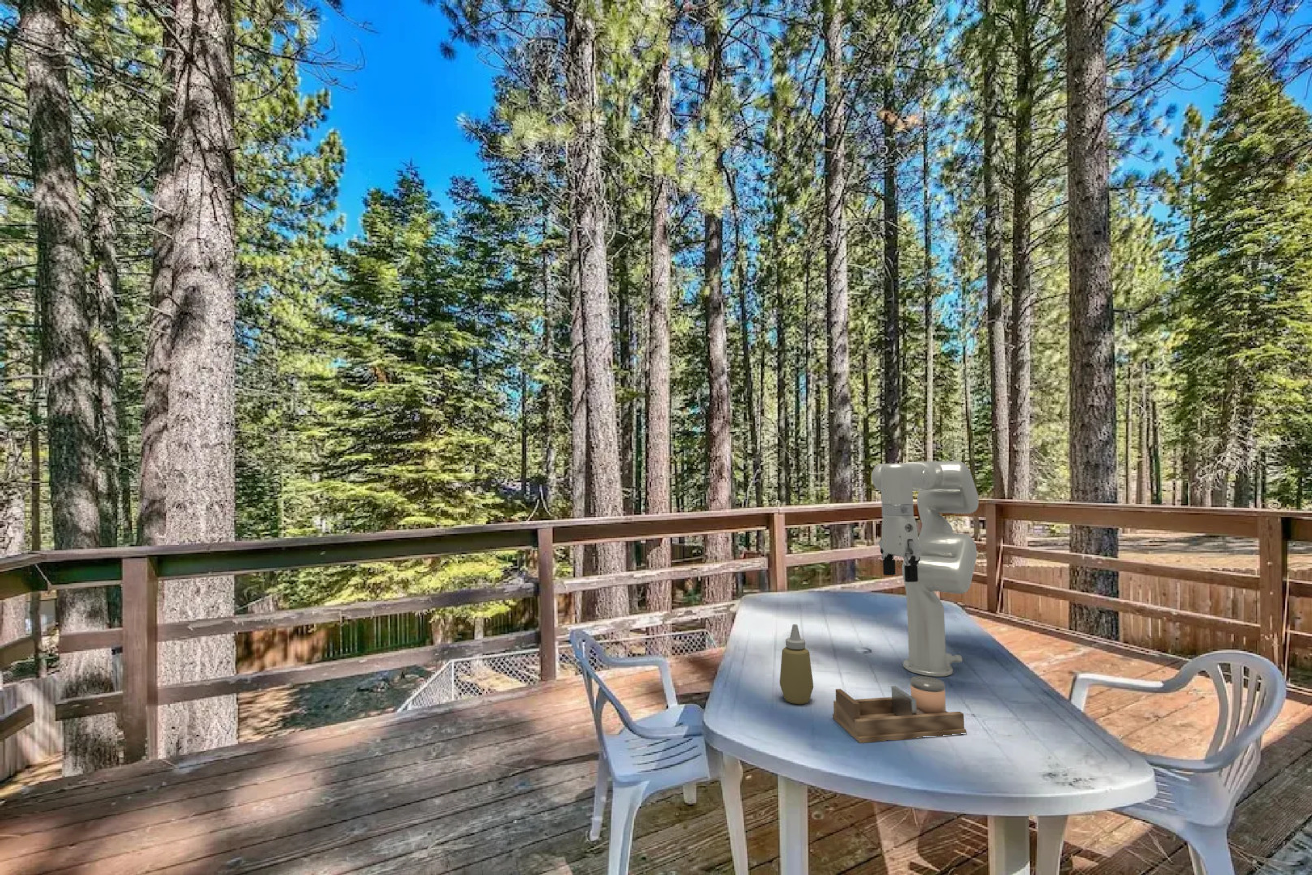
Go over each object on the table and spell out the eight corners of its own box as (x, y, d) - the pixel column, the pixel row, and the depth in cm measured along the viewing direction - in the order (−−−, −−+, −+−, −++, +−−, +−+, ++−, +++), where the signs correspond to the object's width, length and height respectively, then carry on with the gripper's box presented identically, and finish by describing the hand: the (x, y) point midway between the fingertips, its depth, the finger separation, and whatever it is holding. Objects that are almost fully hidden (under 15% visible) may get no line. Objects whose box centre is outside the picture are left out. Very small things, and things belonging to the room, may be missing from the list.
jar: (933, 711, 126) (931, 675, 127) (953, 724, 119) (951, 686, 120) (905, 713, 125) (904, 676, 126) (924, 726, 118) (922, 688, 119)
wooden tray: (930, 711, 129) (929, 680, 129) (966, 734, 117) (964, 700, 117) (832, 718, 125) (831, 686, 126) (859, 742, 113) (858, 707, 114)
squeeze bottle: (814, 696, 138) (813, 622, 139) (812, 708, 130) (810, 630, 132) (781, 692, 141) (780, 619, 142) (777, 704, 133) (776, 627, 134)
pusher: (904, 711, 126) (903, 685, 126) (925, 725, 118) (924, 698, 118) (892, 711, 125) (891, 686, 126) (912, 726, 118) (911, 699, 118)
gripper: (931, 513, 136) (934, 584, 135) (892, 509, 153) (894, 572, 152) (903, 513, 135) (906, 585, 134) (866, 509, 152) (868, 573, 151)
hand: (900, 578), depth 143 cm, fingers open, 9 cm apart
